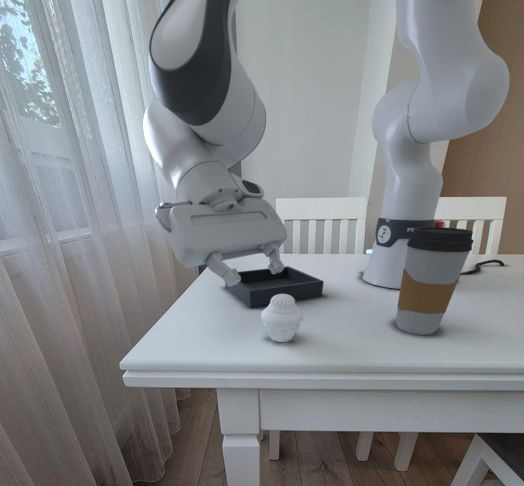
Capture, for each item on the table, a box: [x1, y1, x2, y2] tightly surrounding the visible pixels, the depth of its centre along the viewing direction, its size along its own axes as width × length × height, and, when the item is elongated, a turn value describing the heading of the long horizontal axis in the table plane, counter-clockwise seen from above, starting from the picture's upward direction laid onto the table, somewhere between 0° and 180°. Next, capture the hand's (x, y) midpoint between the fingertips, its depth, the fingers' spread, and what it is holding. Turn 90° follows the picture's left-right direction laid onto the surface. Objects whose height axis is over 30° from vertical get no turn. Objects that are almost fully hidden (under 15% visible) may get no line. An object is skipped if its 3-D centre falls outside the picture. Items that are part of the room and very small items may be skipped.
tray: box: [224, 265, 324, 308], centre depth 64 cm, size 17×15×3 cm
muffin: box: [260, 294, 304, 343], centre depth 43 cm, size 6×6×7 cm
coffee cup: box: [395, 226, 475, 336], centre depth 45 cm, size 8×8×15 cm
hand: (258, 277), depth 44 cm, fingers open, 8 cm apart
